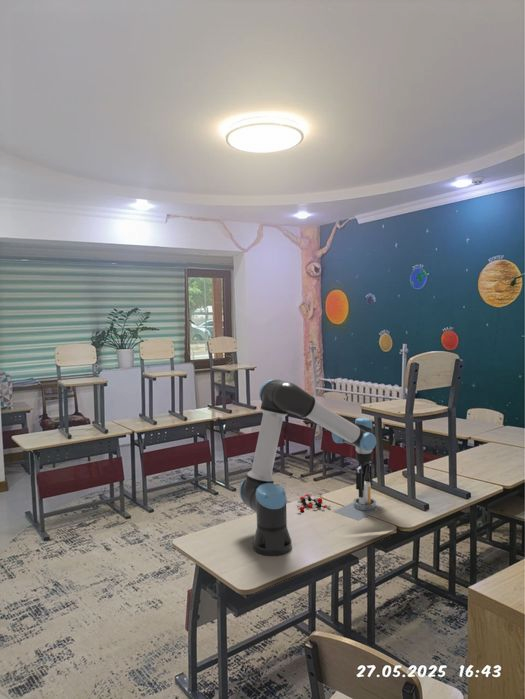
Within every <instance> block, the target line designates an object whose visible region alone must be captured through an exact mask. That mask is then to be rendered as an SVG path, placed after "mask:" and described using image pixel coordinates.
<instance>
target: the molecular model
mask: <svg viewBox="0 0 525 699" xmlns="http://www.w3.org/2000/svg"><path fill="white" fill-rule="evenodd" d="M311 496H312V492H309V493H307V494H305V495H304V496H301V497H300V498H299V499H297V502H296V503H298V504H296V508H298V509H299V511H300V512H301V513H303V512H305V507H306V506H308V508H309V509H314V510H315V509H316V508H320V511H321V512H324V511H325V509H330V508H331V504H327V505H326V504H325V505H323V504H322V502H323V499H322V498H321V497H320V496H315V497H314V498H313V499H312V498H311ZM311 501H312V502H314V504H313V503H310V504H308V503H307V502H311ZM300 503H302V506H301V505H300Z"/></svg>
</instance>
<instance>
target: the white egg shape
mask: <svg viewBox="0 0 525 699" xmlns="http://www.w3.org/2000/svg"><path fill="white" fill-rule="evenodd" d="M371 488H372V486H371V483H370V482H369V481H365V482H364V490H365V504H363V505H369V504H371V499H372V498H371V497H372V495H371V494H372V491H371V490H372V489H371ZM359 504H360V503H359Z"/></svg>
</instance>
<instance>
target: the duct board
mask: <svg viewBox="0 0 525 699" xmlns="http://www.w3.org/2000/svg"><path fill="white" fill-rule="evenodd" d="M384 508H385V507H384V506H381V505H379V504H376V509H374V510H371V511H361V510H358V509H355V508H354V507H353V502H351V503H348V504H346V505H344V506H342V507H339V508H338V509H335V510H334V511H332V512H333V513H336V514H339V515H341V516H344V517H346V518H347V517H348V518H350V519H353V520H356V521H361V520H363V519H364V518H366V517H369V516H371V515H372V514H374V513H376V512H379V511H381V510H383V509H384Z"/></svg>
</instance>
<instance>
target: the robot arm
mask: <svg viewBox="0 0 525 699" xmlns="http://www.w3.org/2000/svg"><path fill="white" fill-rule="evenodd" d="M259 398H260V399H259V400H260V401H261V405H260V411H261V412H262V418H261V421H260V422H261V423H260V428H259V432H258V435H257V436H258V437H257V442H256V447H255V452H254V456H253V461H252V466H251V469H250V470H249V471H248V472H247V473H246V476H245V478H244V480H242V481H241V483H240V485H239V488H238V489H239V491H238V492H239V497H240V499H241V501H242V502H243V503H244V505H245V506H247V507H249V508H250V509H251V510H252V511H253V512H254V513H255V514H256V530H255V533H254V537H253V541H252V549H253V550H254V551H255V553H257V554H259V555H264V556H268V557H270V556H272V557H274V556H280V555H284V554H287V553H288V552H290V551H291V549H292V546H293V544H292V543H293V542H292V538H291V534H290V532H289V529H288V526H287V525H288V522H287V521H288V520H287V518H288V517H287V493H286V490H285V488H284V487H283V486H281V485H280V484H278V483H277V484H275V483H274V482H275V478H274V476H273V468H274V465H275V459H276V454H277V451H278V450H277V449H278V445H279V440H280V435H281V431H282V425H283V422H284V418H285V417H287V416H288V414H289V413H290V414H293V415H296V416H298V417H300V418H302V419H308V420H310V421H311V422H314V423H315V424H317V425H319V426H320V427H322V428H324V429H326V430H327V431H329V432H331V438H332V441H333V442H334V443H336V444H344V443H345V444H347V445H351V446H352V447H355V451H356V452H355V460H356V461H357V462H358V467H355V489H356V490H358V498H359V503H360V504H365V490H364V482H365V481H369V482H370V483H371V487H372V486H373V456H374V455H373V450H374V449H375V447H376V446H377V437H376V436H375V435H374V434H373V430H374V429H373V421H372V419H371V418H368V417H358V418H355V420H354V423H353V422H351V421H349V420H348V419H346V418H344V417H343V416H341V415H339V414H337V413H336V412H334V411H333V410H332V409H330V408H328V407H326V406H325V405H323V404H321V403H319V402H318V401H317V400H316V398H315V396H313V395H311V394H310V393H309V392H307V391H306V390H304V389H302V388H301V387H300V386H298V385H296V384H295V383H293V382H288V381H285V380H282V379H276V378H275V379H274V378H273V379H269V380H267V381H265V382H264V383H263V384H262V385H261V386H260V390H259Z"/></svg>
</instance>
